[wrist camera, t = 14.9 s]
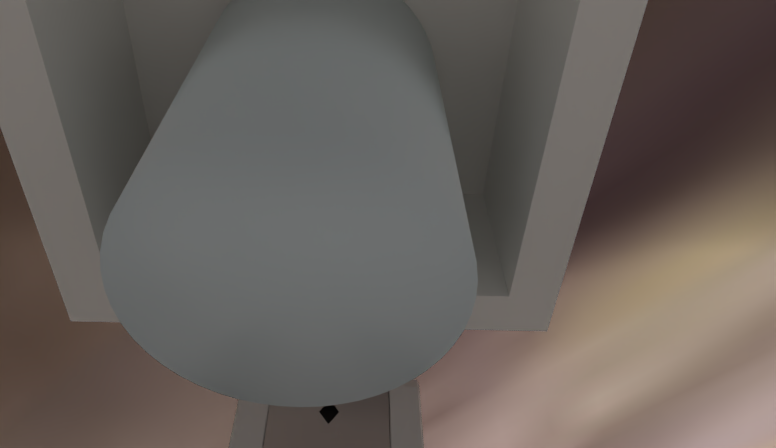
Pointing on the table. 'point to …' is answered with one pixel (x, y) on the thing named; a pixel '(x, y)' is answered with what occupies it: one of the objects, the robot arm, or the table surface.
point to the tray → (309, 174)
